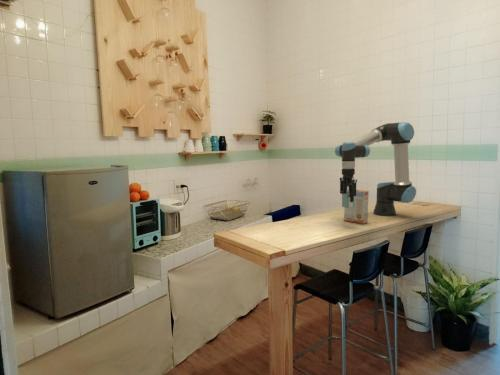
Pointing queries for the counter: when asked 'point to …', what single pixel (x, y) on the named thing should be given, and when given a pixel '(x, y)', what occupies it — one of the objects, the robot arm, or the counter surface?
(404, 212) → the counter surface
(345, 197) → the teal block
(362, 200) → the cracker box
